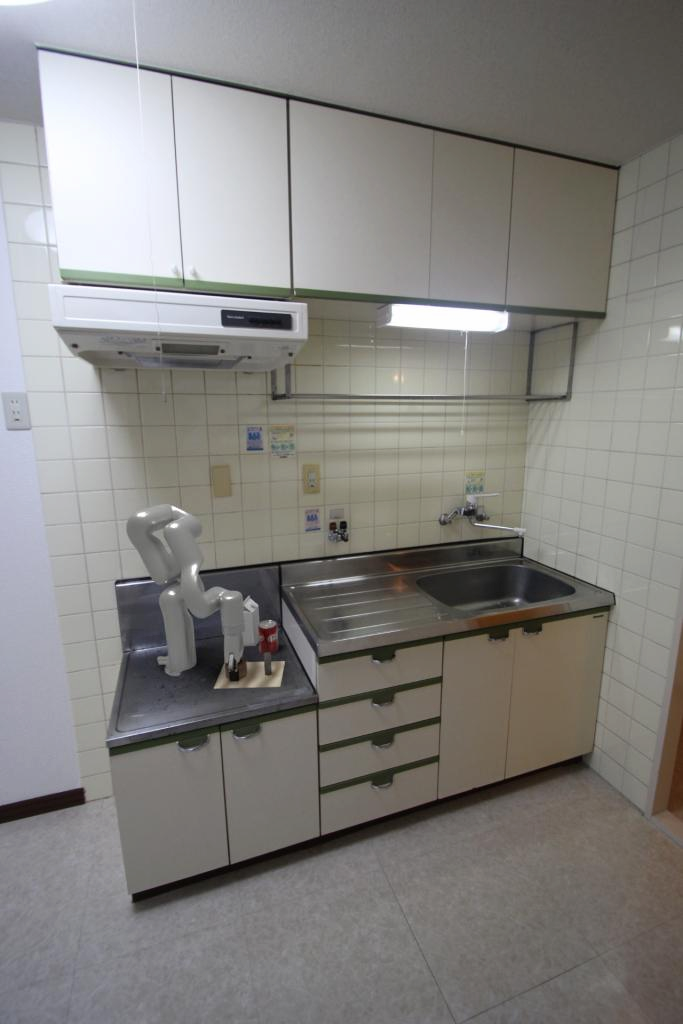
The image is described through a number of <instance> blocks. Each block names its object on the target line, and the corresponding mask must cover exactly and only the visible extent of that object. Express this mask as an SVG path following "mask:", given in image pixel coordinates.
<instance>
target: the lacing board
mask: <svg viewBox="0 0 683 1024" xmlns="http://www.w3.org/2000/svg"><path fill="white" fill-rule="evenodd" d="M285 662H286V661H285V660H280V661H272V654H271V653H269V652H266V653H264V654H263V661H246V663H247V674H246V677H244V678H242V679H240V680H239V681H230V680H229V679H228V678H226V672H225V662H224V663H223V665H222V668H221V670H220V672H219V675H218V678H217V679H216V682H215V684H214V687H213V689H214V690H216V689H251V688H253V689H254V688H256V689H257V688H280V687H281V686H282V679H283V674H284V668H285V665H286V664H285Z"/></svg>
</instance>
